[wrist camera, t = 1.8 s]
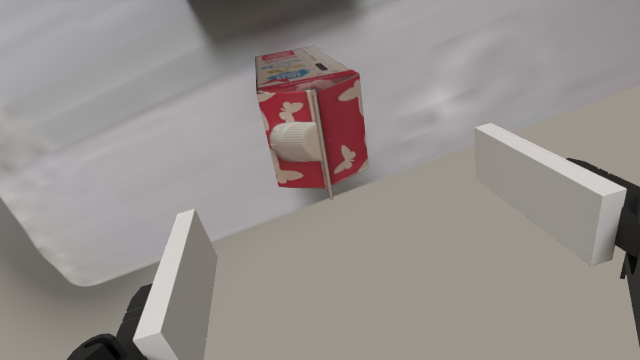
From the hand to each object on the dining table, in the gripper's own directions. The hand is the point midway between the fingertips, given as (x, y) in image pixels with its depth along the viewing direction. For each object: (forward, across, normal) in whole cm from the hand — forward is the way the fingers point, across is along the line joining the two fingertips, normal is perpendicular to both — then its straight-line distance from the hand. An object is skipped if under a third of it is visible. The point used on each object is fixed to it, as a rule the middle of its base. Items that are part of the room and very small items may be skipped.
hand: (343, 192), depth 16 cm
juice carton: (+27, 0, 0) cm, 27 cm away
